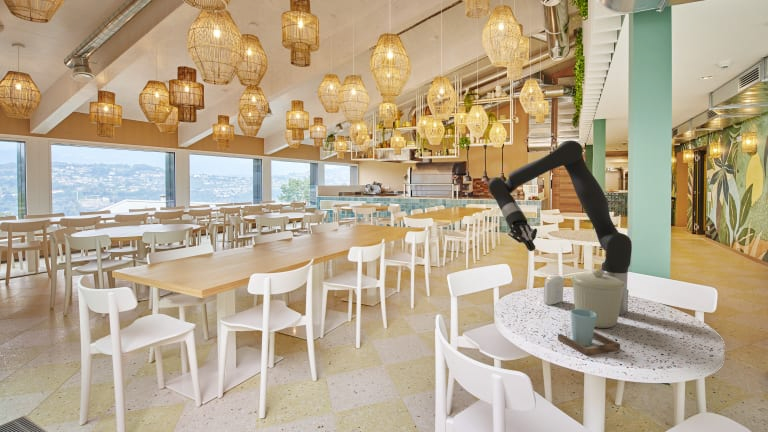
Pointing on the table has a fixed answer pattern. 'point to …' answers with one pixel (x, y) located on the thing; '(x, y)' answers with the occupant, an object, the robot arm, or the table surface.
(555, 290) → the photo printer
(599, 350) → the walnut bay
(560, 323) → the table surface
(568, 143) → the robot arm
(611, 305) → the canister
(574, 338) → the cup
